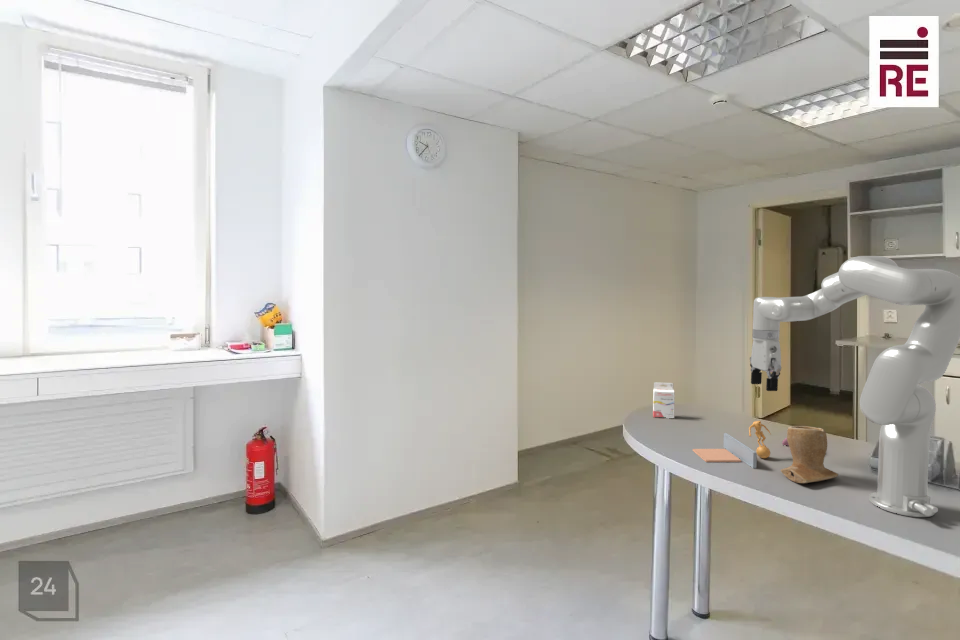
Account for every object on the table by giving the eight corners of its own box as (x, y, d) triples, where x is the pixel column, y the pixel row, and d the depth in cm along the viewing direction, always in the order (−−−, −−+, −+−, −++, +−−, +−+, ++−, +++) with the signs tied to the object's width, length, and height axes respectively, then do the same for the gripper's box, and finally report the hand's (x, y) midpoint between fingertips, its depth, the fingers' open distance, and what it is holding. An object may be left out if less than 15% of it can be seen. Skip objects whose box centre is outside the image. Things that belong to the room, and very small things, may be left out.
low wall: (756, 468, 150) (756, 452, 149) (753, 468, 150) (753, 452, 149) (726, 447, 170) (726, 433, 169) (723, 447, 170) (723, 433, 169)
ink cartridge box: (653, 417, 209) (653, 384, 208) (652, 414, 213) (652, 381, 212) (674, 419, 206) (674, 384, 205) (673, 416, 211) (673, 382, 210)
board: (741, 462, 155) (741, 460, 155) (706, 462, 156) (706, 460, 156) (725, 450, 166) (725, 448, 166) (692, 450, 167) (692, 448, 167)
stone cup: (805, 466, 150) (806, 419, 149) (844, 481, 139) (846, 429, 138) (768, 473, 146) (769, 424, 145) (805, 489, 134) (807, 436, 133)
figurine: (757, 461, 155) (758, 424, 155) (743, 455, 161) (743, 419, 161) (778, 458, 158) (779, 422, 157) (763, 452, 163) (764, 417, 163)
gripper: (793, 338, 147) (791, 393, 149) (763, 332, 165) (761, 381, 166) (767, 338, 148) (765, 393, 149) (741, 332, 165) (739, 381, 167)
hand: (763, 387), depth 158 cm, fingers open, 9 cm apart
